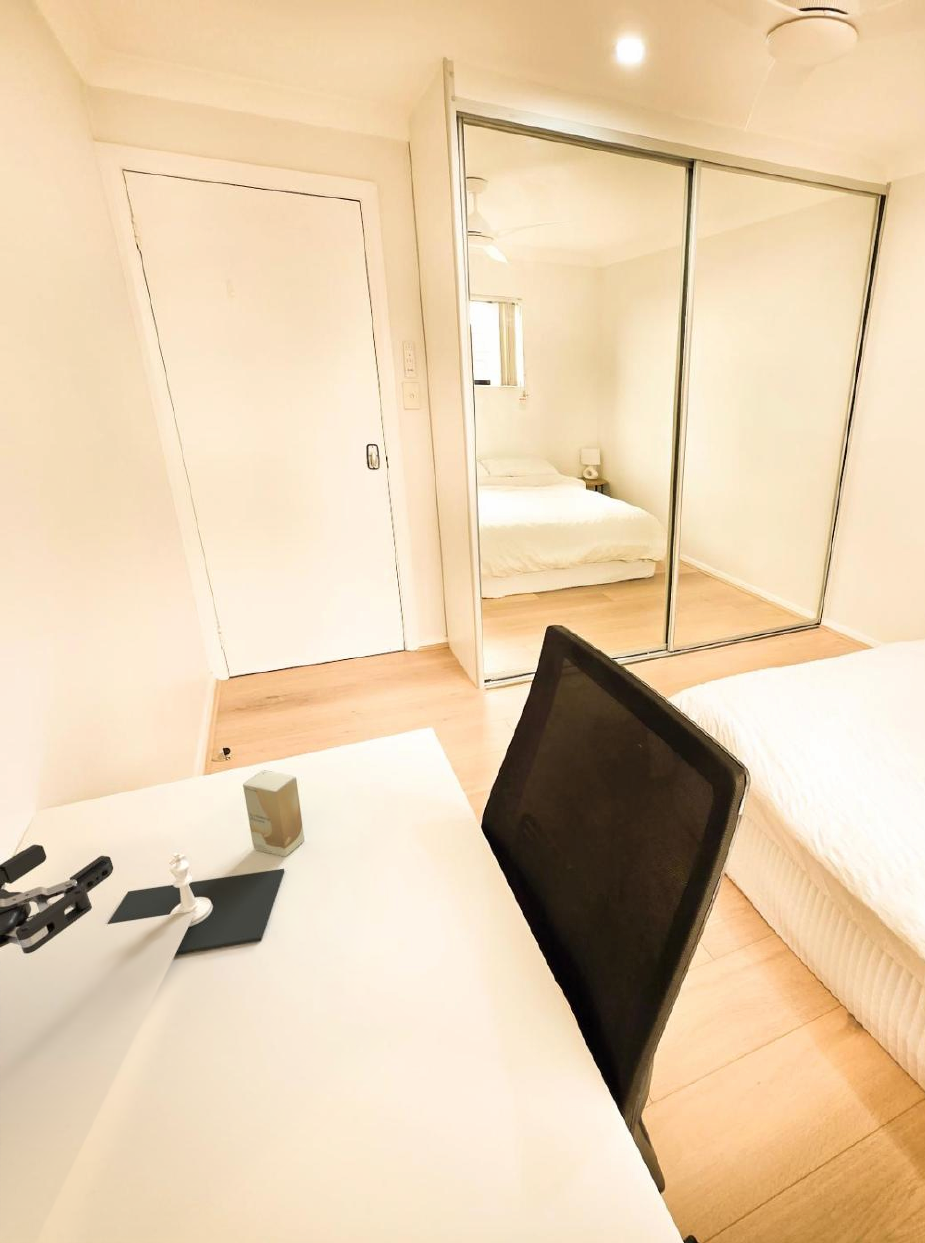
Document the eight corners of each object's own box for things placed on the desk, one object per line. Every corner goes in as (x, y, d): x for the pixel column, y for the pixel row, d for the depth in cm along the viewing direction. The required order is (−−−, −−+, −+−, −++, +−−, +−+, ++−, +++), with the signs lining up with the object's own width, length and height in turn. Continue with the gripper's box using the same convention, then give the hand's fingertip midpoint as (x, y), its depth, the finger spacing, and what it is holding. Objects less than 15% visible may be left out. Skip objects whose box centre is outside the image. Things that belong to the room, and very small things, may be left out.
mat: (79, 972, 75) (78, 968, 75) (129, 894, 87) (128, 891, 86) (261, 940, 80) (260, 937, 80) (284, 871, 92) (284, 868, 92)
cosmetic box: (252, 850, 96) (239, 783, 92) (273, 832, 100) (261, 768, 96) (287, 858, 95) (275, 791, 91) (307, 840, 99) (296, 775, 95)
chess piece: (220, 909, 84) (206, 850, 81) (180, 934, 80) (164, 873, 77) (201, 895, 86) (186, 837, 83) (161, 918, 82) (145, 858, 79)
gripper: (-165, 1004, 54) (30, 874, 69) (-31, 1034, 52) (140, 893, 67) (-200, 940, 51) (10, 819, 67) (-61, 969, 49) (123, 837, 65)
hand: (75, 856), depth 67 cm, fingers open, 8 cm apart
